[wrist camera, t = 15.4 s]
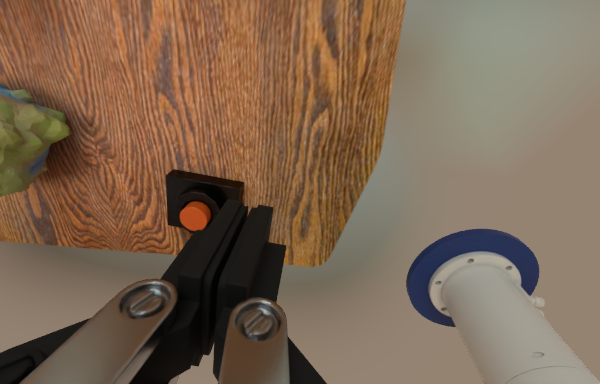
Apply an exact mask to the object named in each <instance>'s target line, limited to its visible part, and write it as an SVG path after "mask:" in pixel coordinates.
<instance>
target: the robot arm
mask: <svg viewBox="0 0 600 384" xmlns="http://www.w3.org/2000/svg"><path fill="white" fill-rule="evenodd" d="M272 214H273V207H269V206H263V205H258V207H257V208H253V207H252V208H251V211H250V213H249V215H248V207H247V206H243V202H241V201H236V200H231V199H228V200H227V201H226V202H225V204H224V205H223V207H222V208H221V210H220V211H219V213H218V214H217V216H216V217H215V219H214V220H213V222H212V223H211V225H210V226H209V228H208V230H207V231H204V230H196V231H195V232H194V234H193V235H192V236H191V238H190V239H189V240H188V242H187V243H186V245H185V246H184V247H183V249H182V250H181V251H180V253H179V254H178V256H177V257H176V259H175V260H174V261H173V262H172V264H171V266H170V267H169V268H168V269H167V271H166V272H165V274H164V275H163V276H162V278H161V279H146V280H142V281H138V282H135V283H133V284H131V285H129V286H127V287H126V288H125V289H123V290H122V291H120V292H119V293H118V294H117V295H116V296H115V297H114V298H113V299H112V300H110V301H109V302H108V303H107V304H106V305H105V306H104V307H103V308H102V309H101V310H99V311H98V312H97V313H96V314H95V315H94V316H93V317H92V318H90V319H87V320H84V321H82V322H79V323H76V324H74V325H71V326H68V327H66V328H63V329H60V330H58V331H55V332H52V333H50V334H47V335H45V336H42V337H39V338H37V339H34V340H32V341H29V342H26V343H24V344H21V345H18V346H16V347H13V348H11V349H8V350H6V351H4V352H2V353H0V384H176V382H177V380H178V378H179V375H180V374H181V373H183V372H184V371H186V370H188V369H190V367H191V365H194V366H199V363H200V361H201V359H202V356H203V355H209V354H210V352H211V350H212V347H213V344H214V363H213V373H214V375H215V377H216V379H217V381H218V384H327V383H326V382H325V381H324V380H323V379H322V377H321V376H320V375H319V374H318V372H317V371H316V370H315V369H314V368H313V366H312V365H311V364H310V363H309V362H308V360H307V359H306V358H305V357H304V355H303V354H302V353H301V352H300V351H299V349H298V348H297V347H296V346H295V344H294V343H293V342H292V341H291V340H290V339H289V337H288V335H287V320H286V315H285V313H284V311H283V309H282V308H281V307H280V306H279V305H278V304H277V303H276V301H277V295H278V289H279V284H280V279H281V273H282V268H283V262H284V257H285V251H286V245H281V244H275V243H270V242H268V241H269V234H270V227H271V221H272ZM247 215H248V217H247ZM428 292H429V297H430V299H431V301H432V303H433V305H434V306H435V308H436V309H437V310H439V311H440V312H441V313H443V314H445V315H447V316H449V317H451V318H452V320H453V322H454V324H455V326H456V328H457V330H458V332H459V334H460V336H461V338H462V339H463V342H464V344H465V346H466V348H467V350H468V352H469V354H470V355H471V358H472V360H473V361H474V364H475V365H476V368H477V369H478V372H479V374H480V375H481V378H482V379H483V382H484V384H600V382H599V381H598V380H597V379H596V378H595V377H594V375H593V374H592V373H591V372H590V371H589V370H588V369H587V367H586V366H585V365H584V364H583V363H582V362H581V360H580V359H579V358H578V357H577V356H576V354H575V353H574V352H573V351H572V350H571V349H570V347H569V346H568V345H567V344H566V343H565V342H564V340H563V339H562V338H561V337H560V336H559V335H558V333H557V332H556V331H555V330H554V329H553V328H552V327H551V325H550V324H549V323H548V322H547V321H546V319H545V315H544V313H543V312H542V311H541V310H539V309H536V308H535V307H543V306H544V305H545V301H544V300H543V299H542V298H541V297H535V296H529V295H528V294H527V293H526V292H525V291H524V289H523V288H522V287H521V276H520V273H519V271H518V269H517V268H516V266H515V265H514V264H513V263H512V262H511V261H510V260H509V259H507V258H505V257H504V256H502V255H499V254H497V253H493V252H487V251H477V252H469V253H465V254H461V255H458V256H456V257H454V258H452V259H450V260H448V261H446V262H445V263H444V264H442V265H441V266H440V267H439V268H438V269H437V270H436V271H435V272H434V274H433V275H432V277H431V279H430V282H429V285H428ZM534 306H535V307H534Z"/></svg>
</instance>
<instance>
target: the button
mask: <svg viewBox="0 0 600 384" xmlns="http://www.w3.org/2000/svg"><path fill="white" fill-rule="evenodd" d="M210 219H211V211H210V209H209V207H208V206H207V205H206V204H204V203H202V202H199V201H193V202H190V203H188V204H187V205H186V206H185V208H184V209H183V210H182V211H181V213H180V221H181V223H182V224H183V225H184V226H185V227H186V228H188V229H190V230H193V231H196V230H202V229H203V228H205V226H206V225H207V223H208V222H209V221H210Z"/></svg>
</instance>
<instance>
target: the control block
mask: <svg viewBox="0 0 600 384" xmlns="http://www.w3.org/2000/svg"><path fill="white" fill-rule="evenodd" d="M243 186H244V182H239V181H233V180H228V179H222V178H217V177H212V176H206V175H201V174H196V173H190V172H185V171H180V170H172V171H171V172H170V173H168V174H167V175H166V188H167V213H168V225H171V226H176V227H181V228H184V229H186V230H187V231H189V232H190V233H194V232H195V231H193V230H190V229H188V228H186V227H185V226H184V225H183V224H182V223H181V221H180V213H181V211H182V210H183V209H184V208H185V206H186V205H187V204H188V203H190V202H193V201H199V202H202V203H204V204H206V205H207V206H208V207H209V209H210V211H211V219H210V221H209V222H208V223H207V225H206V226H205V228H203V229H202V230H204V231H207V230H208V228H209V226H210V225H211V223H212V222H213V220H214V219H215V217H216V216H217V214H218V213H219V211H220V210H221V208H222V207H223V205H224V204H225V202H226V201H227V200H228V199H231V200H236V201H241V202H242V196H243Z"/></svg>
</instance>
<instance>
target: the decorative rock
mask: <svg viewBox="0 0 600 384" xmlns="http://www.w3.org/2000/svg"><path fill="white" fill-rule="evenodd" d="M32 99H33V97H32V96H31V95H30V94H29V93H28V92H27V91H26V90H25V89H21V90H10V89H9V88H8V87H7V86H6V85H5V84H4V83H2V82H0V197H1V196H3V195H7V194H12V193H15V192H22V191H26V190H27V189H28V188H29V185H30V184H31V183H32V182H33V181H34V180H35V179H36V178H37V177H38V176H39V175H40V174H41V173H42V172H44V171H46V170H47V164H46V160H45V159H46V158H47V156H48V154H49V148H50V145H51V144H52V143H55V142H58V141H60V140H61V139H63V138H65V137H67V136H69V135H70V134H71V132H70V129H69V127H68V126H67V125H66V124H65V122H66V115H65V114H63V113H62V112H59V111H56V110H53V109H50V108H46V107H43V106H41V105H39V104H36V103H34V102H32V101H31V100H32Z"/></svg>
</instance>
